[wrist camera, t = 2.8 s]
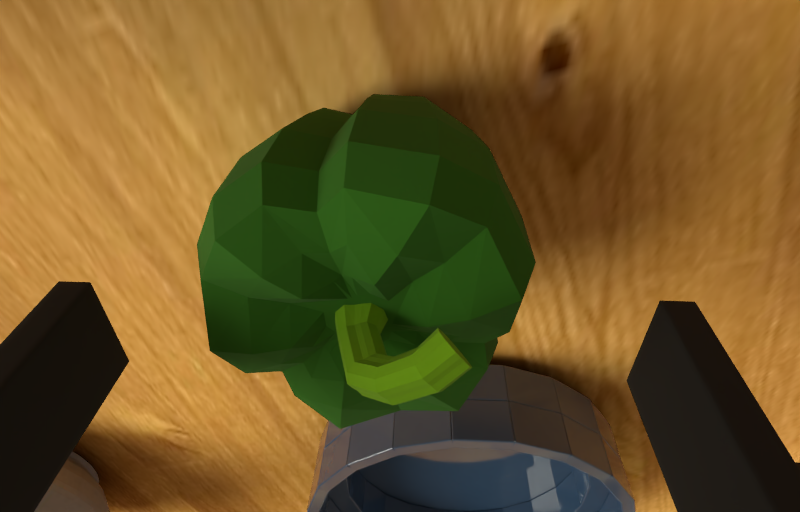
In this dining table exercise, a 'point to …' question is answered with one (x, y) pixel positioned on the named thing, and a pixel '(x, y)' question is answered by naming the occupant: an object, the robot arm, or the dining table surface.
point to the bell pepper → (365, 260)
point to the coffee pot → (74, 489)
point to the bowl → (478, 455)
